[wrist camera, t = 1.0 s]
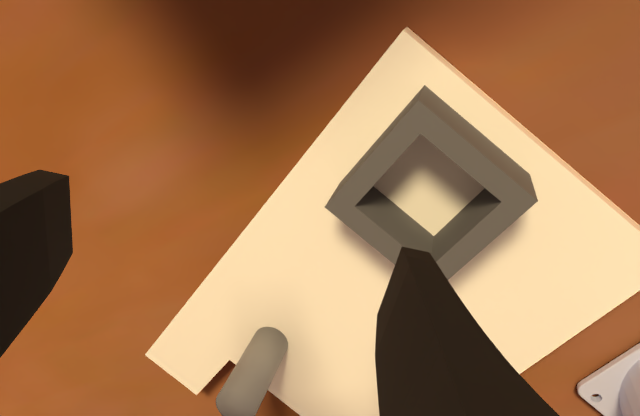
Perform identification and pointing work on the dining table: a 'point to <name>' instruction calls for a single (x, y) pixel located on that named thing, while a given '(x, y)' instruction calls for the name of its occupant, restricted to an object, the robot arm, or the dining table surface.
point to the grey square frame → (462, 148)
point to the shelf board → (375, 269)
